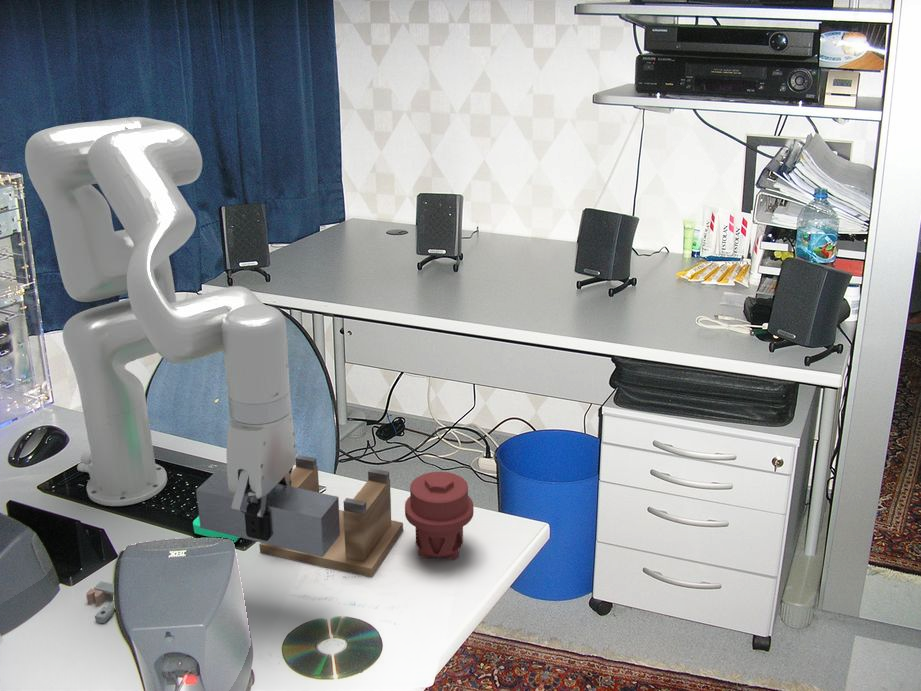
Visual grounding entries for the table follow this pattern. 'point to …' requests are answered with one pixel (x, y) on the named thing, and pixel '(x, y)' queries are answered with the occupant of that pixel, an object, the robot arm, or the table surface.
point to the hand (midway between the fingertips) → (269, 524)
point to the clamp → (102, 600)
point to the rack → (350, 524)
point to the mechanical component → (439, 513)
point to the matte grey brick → (274, 515)
